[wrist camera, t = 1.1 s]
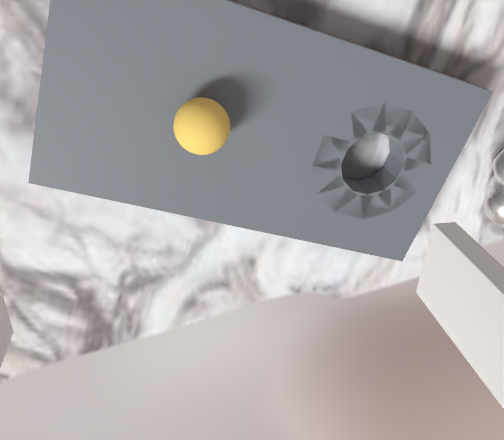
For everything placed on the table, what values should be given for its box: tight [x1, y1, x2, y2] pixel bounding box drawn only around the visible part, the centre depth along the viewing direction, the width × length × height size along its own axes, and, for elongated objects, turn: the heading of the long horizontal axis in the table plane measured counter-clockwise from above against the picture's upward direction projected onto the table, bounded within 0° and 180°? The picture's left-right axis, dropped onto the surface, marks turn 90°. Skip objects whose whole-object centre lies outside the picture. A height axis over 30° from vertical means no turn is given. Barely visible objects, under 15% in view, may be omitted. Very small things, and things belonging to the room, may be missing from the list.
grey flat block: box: [29, 0, 493, 261], centre depth 32 cm, size 28×14×2 cm, turn 72°
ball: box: [173, 97, 230, 155], centre depth 29 cm, size 3×3×3 cm
